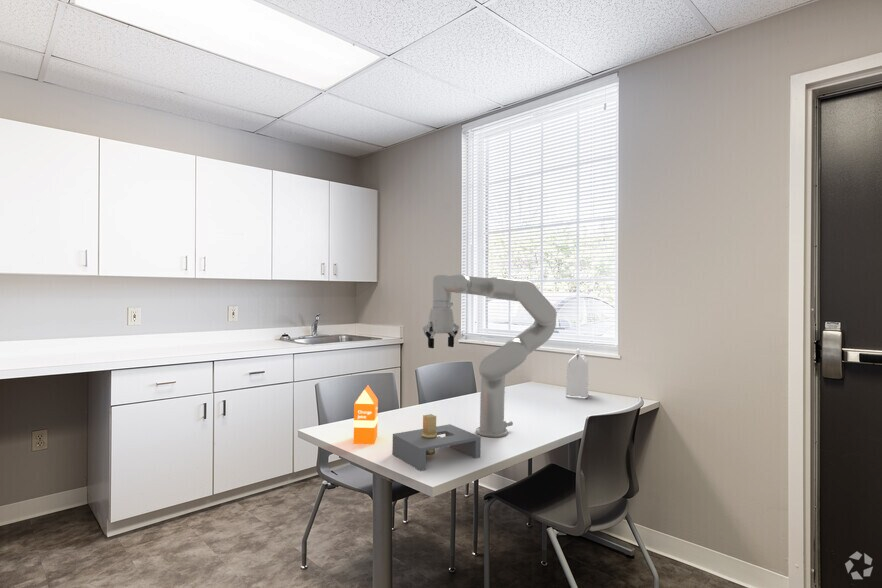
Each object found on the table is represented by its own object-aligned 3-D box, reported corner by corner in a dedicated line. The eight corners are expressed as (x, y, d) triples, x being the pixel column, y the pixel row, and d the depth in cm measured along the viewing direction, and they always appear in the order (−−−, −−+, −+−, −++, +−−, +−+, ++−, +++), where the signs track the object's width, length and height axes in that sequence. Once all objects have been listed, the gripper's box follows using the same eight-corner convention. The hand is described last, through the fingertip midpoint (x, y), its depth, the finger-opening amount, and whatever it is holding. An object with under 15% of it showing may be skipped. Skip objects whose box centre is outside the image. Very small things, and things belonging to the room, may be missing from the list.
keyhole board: (449, 443, 178) (450, 424, 178) (480, 457, 163) (480, 436, 163) (392, 454, 165) (392, 433, 164) (420, 471, 150) (420, 448, 150)
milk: (567, 393, 273) (568, 347, 273) (588, 394, 270) (589, 348, 270) (565, 397, 262) (566, 349, 262) (587, 399, 258) (588, 350, 258)
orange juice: (377, 437, 184) (378, 384, 184) (374, 444, 175) (375, 389, 175) (357, 436, 184) (358, 384, 184) (352, 443, 175) (353, 388, 175)
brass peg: (431, 449, 166) (431, 413, 166) (439, 453, 162) (440, 416, 162) (418, 452, 163) (419, 415, 163) (426, 456, 159) (427, 418, 159)
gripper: (453, 305, 204) (452, 345, 204) (418, 305, 194) (418, 347, 194) (464, 305, 198) (463, 347, 198) (428, 305, 188) (428, 349, 188)
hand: (441, 347), depth 196 cm, fingers open, 9 cm apart
